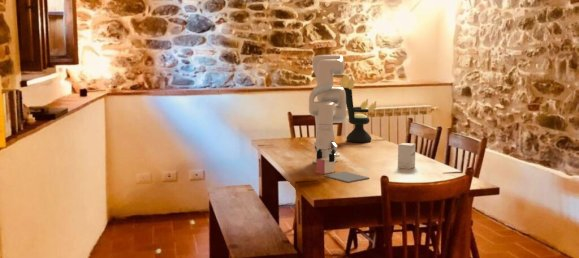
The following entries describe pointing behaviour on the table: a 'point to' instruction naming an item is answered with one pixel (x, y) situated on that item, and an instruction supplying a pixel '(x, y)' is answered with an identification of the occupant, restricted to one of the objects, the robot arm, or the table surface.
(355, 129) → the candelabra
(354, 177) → the mat
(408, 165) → the supplement box
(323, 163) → the card box
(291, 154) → the table surface
